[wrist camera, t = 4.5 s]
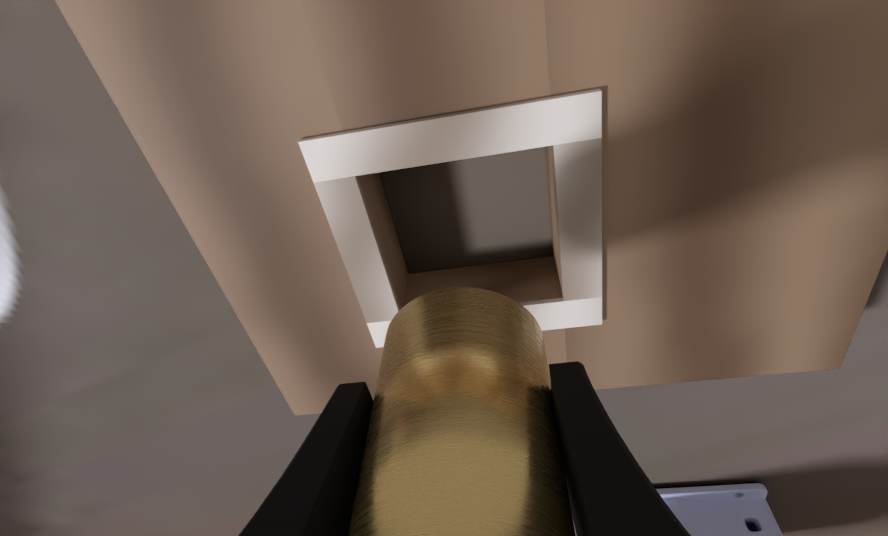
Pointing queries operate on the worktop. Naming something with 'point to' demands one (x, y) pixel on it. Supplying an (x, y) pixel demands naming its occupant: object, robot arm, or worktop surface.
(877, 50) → the plate
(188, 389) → the worktop surface
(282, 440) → the worktop surface
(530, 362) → the brass peg
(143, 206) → the worktop surface
